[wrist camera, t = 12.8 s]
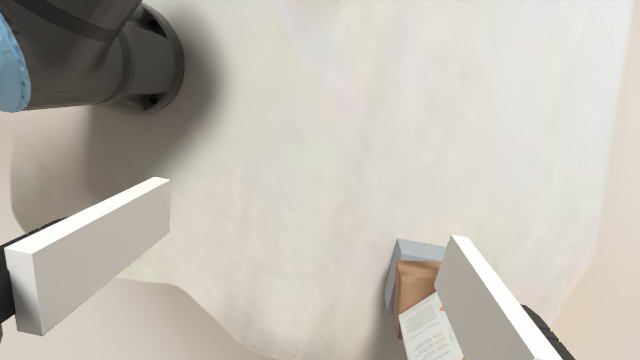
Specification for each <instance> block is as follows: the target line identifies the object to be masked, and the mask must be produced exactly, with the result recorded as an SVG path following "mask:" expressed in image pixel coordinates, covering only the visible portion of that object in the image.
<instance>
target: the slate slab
mask: <svg viewBox="0 0 640 360" xmlns="http://www.w3.org/2000/svg"><path fill="white" fill-rule="evenodd" d="M446 248H447V247H442V246H437V245H431V244H426V243H420V242H414V241H409V240H403V239H398V238H397V242H396V246H395V250H394V254H393V258H392V262H391V265H390V269H389V273H388V277H387V281H386V285H385V289H384V297H385V303H386V309H387V312H391V313H393V305H394V289H395V274H396V260H405V261H432V262H442V260H443V257H444V254H445V251H446Z"/></svg>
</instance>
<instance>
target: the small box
mask: <svg viewBox="0 0 640 360" xmlns="http://www.w3.org/2000/svg"><path fill="white" fill-rule="evenodd" d="M398 317H399V322H400V326H401V331H402V336H403V341H404V346H405V350H406V355H407V359H408V360H465V358H464V355H463V353H462V351H461V348H460V346H459V344H458V341H457V339H456V336H455V334H454V332H453V329H452V327H451V325H450V322H449V320H448V318H447V315H446V313H445V310H444V308H443V306H442V303H441V301H440V299H439V296H438V294H437V292H435V293H433V294H432V295H430V296H428V297H427V298H425V299H424V300H422V301H420V302H419V303H417V304H416V305H414V306H413V307H411V308H410V309H408V310H406V311H405V312H403V313H402V314H400V315H399V316H398Z"/></svg>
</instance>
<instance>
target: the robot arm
mask: <svg viewBox="0 0 640 360" xmlns="http://www.w3.org/2000/svg"><path fill="white" fill-rule="evenodd" d="M183 74H184V58H183V52H182V48H181V45H180V42H179V40H178V37H177V35H176V33H175V32H174V30H173V28H172V27H171V25H170V24H169V23H168V21H167V20H166V19H165V18H164V17H163V16H162V15H161V14H160V13H159V12H157V11H156V10H155V9H153V8H152V7H150V6H148V5H146V4H144V3H142V0H0V111H3V112H10V113H12V112H19V111H24V110H36V109H47V108H59V107H70V106H82V105H93V104H95V105H98V106H101V107H104V108H107V109H110V110H113V111H116V112H119V113H123V114H144V113H151V112H155V111H157V110H160V109H162V108H163V107H165V106H166V105H167V104H169V103H170V102H171V101H172V100H173V98H174V97H175V96H176V94H177V92H178V91H179V88H180V86H181V83H182V80H183ZM169 219H170V180H169V179H164V178H159V177H153V178H151V179H149V180H146V181H144V182H142V183H140V184H138V185H136V186H134V187H132V188H130V189H127V190H125V191H123V192H121V193H119V194H117V195H115V196H113V197H111V198H108V199H106V200H104V201H102V202H100V203H98V204H96V205H94V206H92V207H89V208H87V209H85V210H83V211H81V212H79V213H77V214H75V215H73V216H70V217H66V218H62V219H58V220H55V221H53V222H51V223H48V224H46V225H44V226H42V227H41V228H40V229H39V228H38V229H35V230H33V231H31V232H29V234H25V235H23V236H20V237H18V238H16V239H14V240H12V241H9V242H7V243H5V244H3V245H1V246H0V342H1V338H2V335H3V332H2V325H1V323H2V322H4V321H5V320H7V319H8V318H10V317H11V316H12V315H14V314H15V319H16V324H17V331H21V332H25V333H30V334H35V335H39V336H43V335H45V334H46V333H47V332H48V331H50V330H51V329H52V328H53V327H54V326H55V325H57V324H58V323H59V322H61V321H62V320H63V319H64V318H65V317H67V316H68V315H69V314H70V313H71V312H73V311H74V310H75V309H76V308H78V307H79V306H80V305H81V304H82V303H83V302H85V301H86V300H87V299H88V298H90V297H91V296H92V295H93V294H94V293H96V292H97V291H98V290H99V289H101V288H102V287H103V286H104V285H105V284H107V283H108V282H109V281H110V280H112V279H113V278H114V277H115V276H116V275H118V274H119V273H120V272H121V271H123V270H124V269H125V268H126V267H127V266H129V265H130V264H131V263H132V262H133V261H135V260H136V259H137V258H138V257H140V256H141V255H142V254H143V253H144V252H146V251H147V250H148V249H149V248H151V247H152V246H153V245H154V244H155V243H157V242H158V241H159V240H160V239H161V238H163V237H164V236H165V235H166V234H168V233H169ZM434 287H435V289H436V292H437V294H438V296H439V299H440V301H441V303H442V306H443V308H444V310H445V313H446V315H447V318H448V320H449V322H450V325H451V327H452V329H453V332H454V334H455V336H456V339H457V341H458V344H459V346H460V348H461V351H462V353H463V355H464V358H465V360H575V359H574V357H573V356H572V355H571V354H570V353H569V352H568V350H567V349H566V348H565V346H564V345H563V344H562V343H561V342H559V339H558V338H557V337H556V336H555V334H554V333H553V332H551V331H550V328H549V327H548V326H547V325H546V323H545V322H544V321H543V320H542V319H541V317H540V316H538V315H537V314H536V313H535V312H533V311H532V310H531V309H530V308H528V307H527V306H526V305H521V304H519V303H518V301H517V300H516V299H515V298H514V296H513V295H512V294H511V292H510V291H509V290H508V289H507V287H506V286H505V285H504V283H503V282H502V281H501V280H500V278H499V277H498V276H497V274H496V273H495V272H494V271H493V269H492V268H491V267H490V265H489V264H488V263H487V262H486V260H485V259H484V258H483V256H482V255H481V254H480V253H479V251H478V250H477V249H476V247H475V246H474V245H473V244H472V242H471V241H470V240H469V238H467V237H462V236H457V235H452V234H451V236H450V239H449V242H448V245H447V248H446V251H445V254H444V257H443V260H442V263H441V266H440V268H439V271H438V274H437V277H436V280H435V283H434Z"/></svg>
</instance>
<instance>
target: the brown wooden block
mask: <svg viewBox="0 0 640 360" xmlns="http://www.w3.org/2000/svg"><path fill="white" fill-rule="evenodd" d="M441 263H442V262H432V261H405V260H396V274H395V289H394V305H393V316H394V321H395V327H396V332H397V337H398V339H403V336H402V331H401V326H400V322H399V317H398V316H399V315H400V314H402V313H403V312H405V311H406V310H408V309H410V308H411V307H413V306H414V305H416V304H417V303H419V302H420V301H422V300H424V299H425V298H427V297H428V296H430V295H432V294H433V293H435V292H436V289H435V287H434V283H435V280H436V277H437V274H438V271H439V268H440V266H441Z"/></svg>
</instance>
